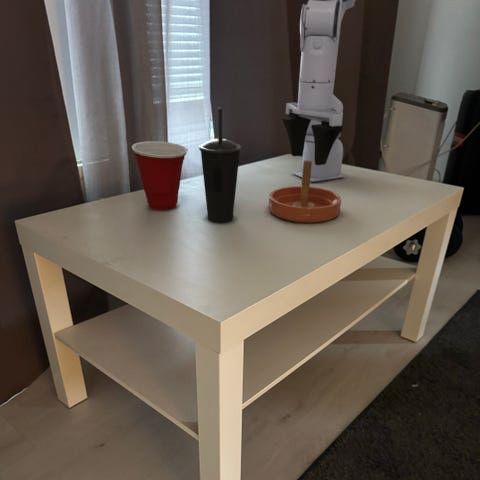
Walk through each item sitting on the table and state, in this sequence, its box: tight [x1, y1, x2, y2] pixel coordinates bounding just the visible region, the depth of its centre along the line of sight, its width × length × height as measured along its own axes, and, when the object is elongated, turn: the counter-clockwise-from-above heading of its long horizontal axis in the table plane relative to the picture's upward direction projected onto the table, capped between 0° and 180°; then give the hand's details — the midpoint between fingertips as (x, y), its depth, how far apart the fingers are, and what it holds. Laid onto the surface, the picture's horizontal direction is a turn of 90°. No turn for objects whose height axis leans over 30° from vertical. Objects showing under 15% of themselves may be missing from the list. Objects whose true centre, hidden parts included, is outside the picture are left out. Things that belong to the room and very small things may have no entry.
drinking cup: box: [198, 107, 242, 224], centre depth 89 cm, size 8×8×20 cm
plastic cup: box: [131, 140, 188, 211], centre depth 97 cm, size 11×11×12 cm
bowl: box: [268, 185, 342, 224], centre depth 97 cm, size 14×14×3 cm
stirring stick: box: [293, 161, 315, 208], centre depth 95 cm, size 4×4×10 cm
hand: (308, 159), depth 93 cm, fingers open, 7 cm apart
